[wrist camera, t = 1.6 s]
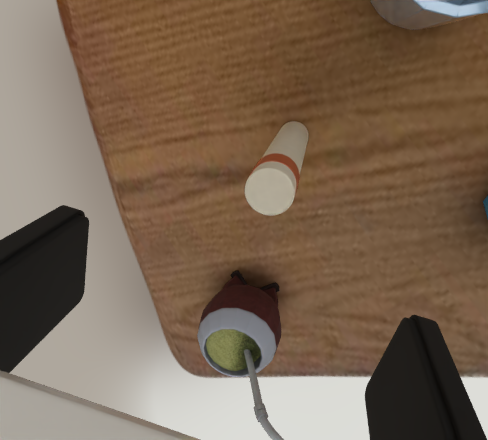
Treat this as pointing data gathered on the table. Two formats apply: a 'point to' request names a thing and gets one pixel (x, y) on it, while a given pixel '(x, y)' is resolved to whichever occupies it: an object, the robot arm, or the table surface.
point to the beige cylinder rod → (278, 171)
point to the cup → (486, 205)
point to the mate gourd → (242, 335)
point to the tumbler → (428, 11)
